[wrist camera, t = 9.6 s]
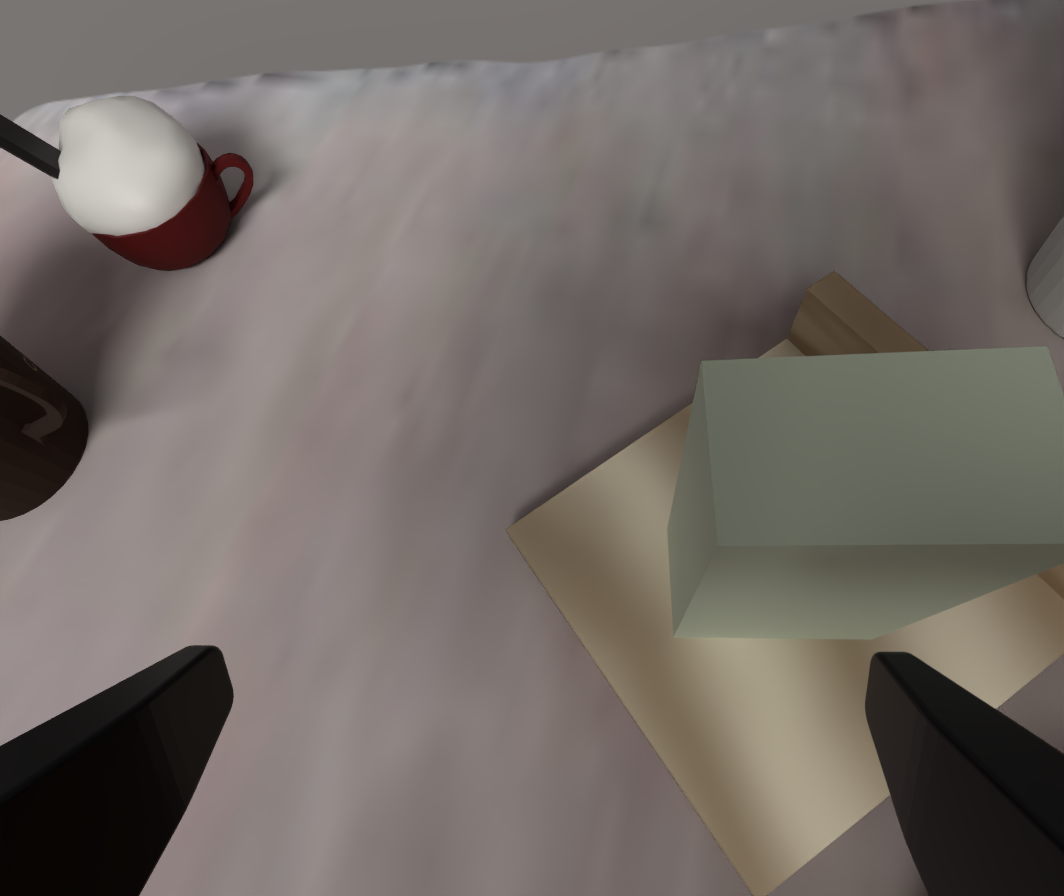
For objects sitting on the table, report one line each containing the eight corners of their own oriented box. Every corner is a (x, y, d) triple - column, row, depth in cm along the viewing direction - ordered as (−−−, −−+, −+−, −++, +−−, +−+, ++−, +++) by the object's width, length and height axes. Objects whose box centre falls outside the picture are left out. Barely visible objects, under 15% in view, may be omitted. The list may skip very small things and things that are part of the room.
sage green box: (871, 639, 20) (1113, 543, 10) (673, 637, 21) (718, 546, 11) (851, 523, 22) (1045, 340, 12) (666, 525, 22) (700, 356, 12)
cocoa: (284, 195, 33) (138, -77, 23) (252, 293, 31) (69, 38, 20) (112, 196, 34) (-106, -64, 24) (66, 290, 32) (-203, 47, 21)
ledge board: (752, 893, 19) (782, 931, 15) (509, 537, 24) (489, 501, 20) (1101, 610, 21) (1203, 584, 17) (804, 336, 26) (834, 270, 22)
